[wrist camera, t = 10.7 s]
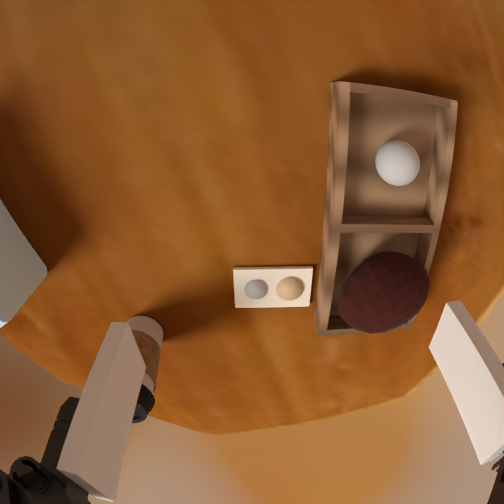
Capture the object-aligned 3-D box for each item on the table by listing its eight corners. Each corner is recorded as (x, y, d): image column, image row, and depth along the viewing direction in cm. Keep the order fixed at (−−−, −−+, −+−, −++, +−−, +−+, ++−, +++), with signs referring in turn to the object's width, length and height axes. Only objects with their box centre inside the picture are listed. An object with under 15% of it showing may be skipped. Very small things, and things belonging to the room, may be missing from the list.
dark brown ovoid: (418, 273, 41) (448, 314, 32) (344, 314, 44) (361, 362, 35) (399, 223, 37) (433, 261, 29) (317, 270, 40) (333, 318, 32)
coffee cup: (180, 324, 46) (160, 408, 32) (160, 357, 49) (140, 434, 36) (128, 299, 43) (91, 378, 30) (113, 334, 47) (81, 408, 34)
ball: (370, 134, 32) (388, 142, 28) (409, 138, 32) (430, 147, 28) (367, 177, 34) (383, 191, 30) (405, 179, 34) (424, 193, 30)
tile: (233, 267, 41) (233, 270, 40) (312, 266, 41) (313, 269, 40) (235, 305, 44) (235, 308, 43) (308, 303, 44) (309, 307, 43)
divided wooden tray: (330, 82, 30) (340, 81, 27) (439, 98, 30) (457, 101, 27) (313, 317, 45) (318, 336, 41) (401, 311, 45) (411, 328, 41)
